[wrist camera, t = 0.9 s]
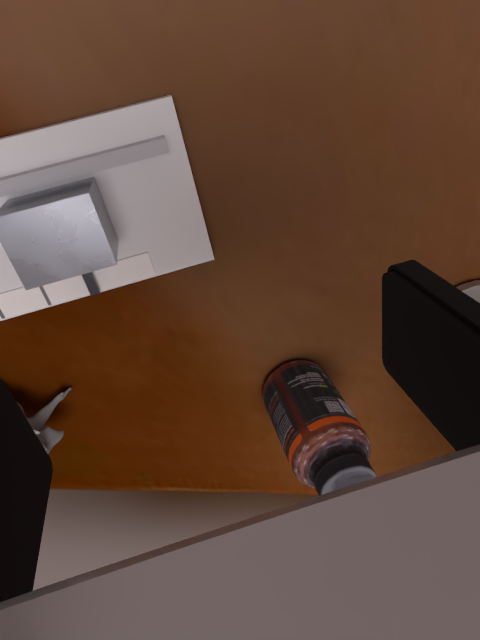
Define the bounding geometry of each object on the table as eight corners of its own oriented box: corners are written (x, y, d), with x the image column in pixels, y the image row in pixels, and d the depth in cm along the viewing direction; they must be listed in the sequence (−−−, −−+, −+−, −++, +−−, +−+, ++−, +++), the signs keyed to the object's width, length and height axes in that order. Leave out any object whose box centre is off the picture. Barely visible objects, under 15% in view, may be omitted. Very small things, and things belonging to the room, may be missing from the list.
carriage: (94, 176, 25) (88, 192, 22) (133, 280, 29) (134, 307, 25) (7, 199, 25) (-12, 219, 21) (58, 301, 28) (48, 332, 25)
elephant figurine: (11, 322, 30) (99, 403, 32) (9, 340, 35) (86, 410, 36) (-117, 424, 26) (-8, 515, 27) (-100, 429, 30) (-7, 506, 32)
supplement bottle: (269, 420, 40) (314, 532, 30) (252, 372, 37) (296, 479, 27) (331, 397, 40) (395, 500, 30) (319, 346, 37) (386, 443, 27)
